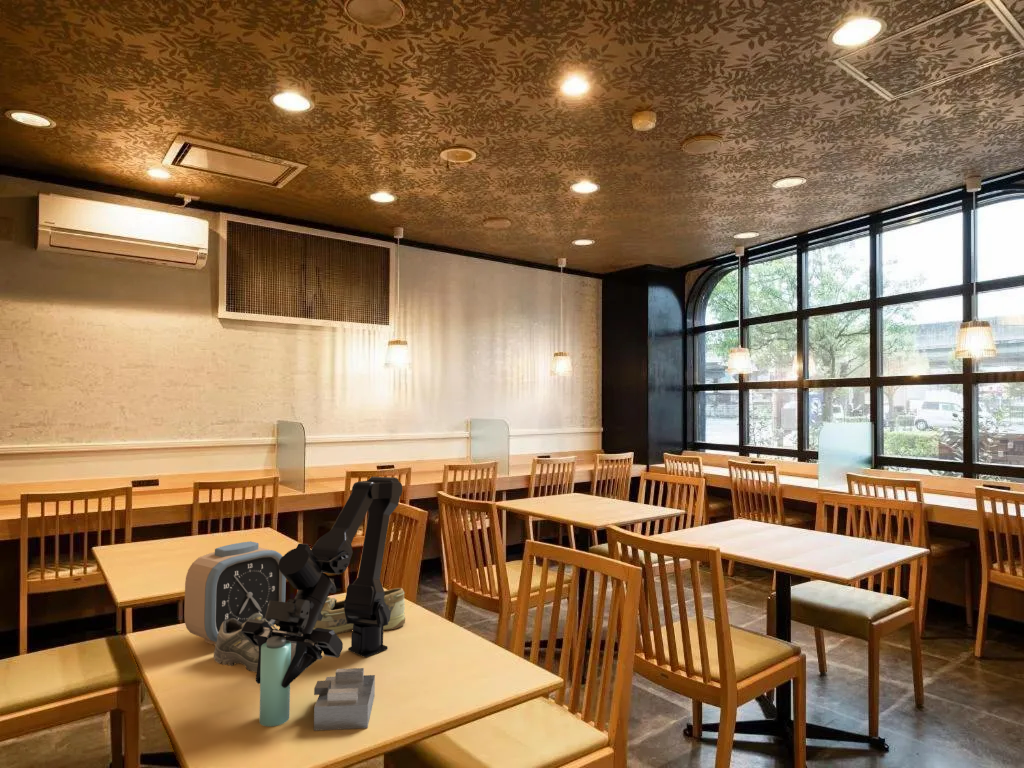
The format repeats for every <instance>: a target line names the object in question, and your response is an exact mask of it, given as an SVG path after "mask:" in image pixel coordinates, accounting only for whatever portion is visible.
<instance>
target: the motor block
mask: <svg viewBox="0 0 1024 768" xmlns="http://www.w3.org/2000/svg"><path fill="white" fill-rule="evenodd" d="M364 670H365V668H364V667H358V668H356V667H355V668H337V669H336V670H335V676H334V675H333V676H326V678H325V680H317V681H316V683H315V685H314V688H313V695H314V696H318V697H317V699H316V702H315V704H314V707H313V708H314V709H313V710H314V712H313V731H331V730H332V731H333V730H334V731H335V730H352V729H368V727H369V722H370V718H371V713H372V709H373V705H374V700H375V696H376V695H375V688H376V687H375V685H376V682H375V681H376V674H370V675H369V674H368V675H367V674H366V675H365V671H364Z"/></svg>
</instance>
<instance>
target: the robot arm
mask: <svg viewBox="0 0 1024 768" xmlns="http://www.w3.org/2000/svg"><path fill="white" fill-rule="evenodd" d="M402 494H403V484H402V482H400V480H399V478H397V477H393V476H392V477H391V476H390V477H389V476H371V477H369V479H367V480H361V481H360V480H359V481H357V482H354V483H353V485H352V488H351V493H350V494H349V496H348V498H347V500H346V501H345V504H344V506H342V507H343V508H342V510H341V511H340V513H339V515H338V516H337V518H336V520H335V523H334V524H333V525H332V527H331V529H330V530H329V531H328V532H326V533H325V534H323V535H322V536H320V537H319V538H318V540H317V541H316V542H315V543H314V545H313V546H312V548H311V547H310V545H309V544H308V543H298V544H297V546H296V547H295V548H293V549H290V550H289V551H287V552H286V553H285V554H284V555H282V556H283V557H281V559H280V561H279V570H280V572H281V573H282V574H283V575H284V577H285V578H286V581H287V582H288V583H289V584H290V586H291V587H292V588H294V589H295V590H297V591H296V594H295V596H294V598H288V599H287V601H285V602H279V601H269V605H268V608H267V612H266V615H265V619H273V620H275V622H274V624H275V625H274V626H275V627H279V629H278V628H277V629H278V630H277V629H275V628H273V627H272V626H270V625H269V624H268V623H267V622H266V621H261V620H253V619H250V620H248V621H246V623H245V624H244V626H243V628H242V630H241V631H240V632H241V633H242V634H243V635H244V636H245V637H246V638H247V639H248V640H249V641H250V642H251V643H252V644H253V645H255V646H259V658H258V666H257V672H255V673H256V675H255V683H257V685H258V684H259V685H260V671H261V646H262V645H263V644H264V643H266V642H267V639H268V638H271V637H275V636H283V637H285V638H286V640H287V641H290V642H291V643H295V644H296V651H295V655H294V657H293V659H292V661H291V664H290V666H289V668H288V670H287V672H286V674H285V676H284V679H283V682H282V687H283V688H286V687H287V686H288V685H289V684H290V685H291V684H292V683H293V682H294V681H295V680H296V679H297V678H298V677H299V676H300V675H302V673H303V672H305V670H307V669H308V668H309V667H310V666H312V665H313V664H314V663H315V662H316V661H318V660H320V661H321V660H322V659H323V655H324V656H325V657H329V658H330V657H331V658H336V659H337V658H340V657H341V653H342V651H343V649H344V647H343V646H344V643H343V641H342V639H341V638H340V637H339V636H338V634H336V633H335V632H334V631H333V630H331V629H323V628H315V629H314V626H315V624H316V622H317V620H318V621H321V620H322V618H323V615H322V614H321V611H322V608H323V606H324V604H325V602H326V599H327V597H329V595H330V594H335V593H337V587H336V584H335V579H334V578H330V576H329V575H328V574H333V575H341V574H344V572H346V570H347V569H348V567H349V565H350V563H351V559H352V556H353V553H354V551H353V546H352V544H353V541H354V538H355V536H356V535H357V532H358V531H359V529H360V527H361V525H362V522H363V520H364V518H365V517H366V515H367V512H368V516H367V520H366V527H365V534H364V540H363V546H362V552H361V556H360V562H359V563H360V564H359V569H358V575H357V578H356V579H355V580H354V581H353V583H348V585H347V587H346V594H345V599H344V600H345V601H344V611H345V616H346V621H347V624H353V631H351V639H350V640H351V641H350V643H351V646H350V647H348V648H347V650H348V651H349V652H351V653H354V654H356V655H358V656H362V657H363V658H368V657H371V656H374V655H376V654H378V653H381V652H384V651H386V650H388V646H387V645H385V644H384V630H383V626H386V625H388V622H389V621H390V615H391V611H390V609H389V608H388V606H387V605H386V603H385V602H384V595H385V592H384V591H385V589H384V587H383V585H382V582H381V572H382V567H383V559H384V553H385V548H386V541H387V534H388V528H389V527H388V526H389V522H390V517H391V515H392V514H393V512H394V511H395V510H396V509H397V507H398V506H399V503H400V498H401V496H402ZM313 629H314V630H313ZM322 654H323V655H322Z"/></svg>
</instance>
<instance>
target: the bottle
mask: <svg viewBox="0 0 1024 768" xmlns="http://www.w3.org/2000/svg"><path fill="white" fill-rule="evenodd" d="M285 637H286V636H285ZM285 637H283V636H275V637H271V638H268V639H267V642H266V643H264V644H263V645H262V646H261V671H260V684H259V714H258V715H259V718H258V719H259V725H261V726H263V727H277V726H280V725H284V724H285V723H287V722H288V721H289V719H290V711H291V709H290V708H291V707H290V706H291V705H290V703H291V683H290V684H289V685H288V686H287V687H286V688H283V687H282V682H283V679H284V676H285V674H286V672H287V670H288V668H289V666H290V664H291V642H290V641H287V640H286V638H285Z"/></svg>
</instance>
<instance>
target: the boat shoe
mask: <svg viewBox="0 0 1024 768" xmlns="http://www.w3.org/2000/svg"><path fill="white" fill-rule="evenodd" d="M384 592H385V595H384V602H385V603H386V605H387V606H388V608H389V609H390V611H391V615H390V621H389V622H388V625H386V626H383V631H389V630H390V629H391V630H394V629H398V628H401V627H402V626H404V625H405V623H406V616H405V607H406V606H405V605H406V604H405V602H406V601H405V591H404V589H403V588H402V587H396V588H391V589H387V590H384ZM344 601H345V599H343V600H338V601H337V598H335V597H329V596H328V597H327V599H326V602H325V604H324V606H323V608H322V611H321V614H322V615H323V618H322V620H321V621H318V620H317V622H316V624H315V626H314V629H315V628H323V629H331V630H333V631H334V632H335V633H336V634H337V635H339V634H342V633H346V632H353V631H352V630H353V624H347V621H346V616H345V611H344ZM314 629H313V630H314Z"/></svg>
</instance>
